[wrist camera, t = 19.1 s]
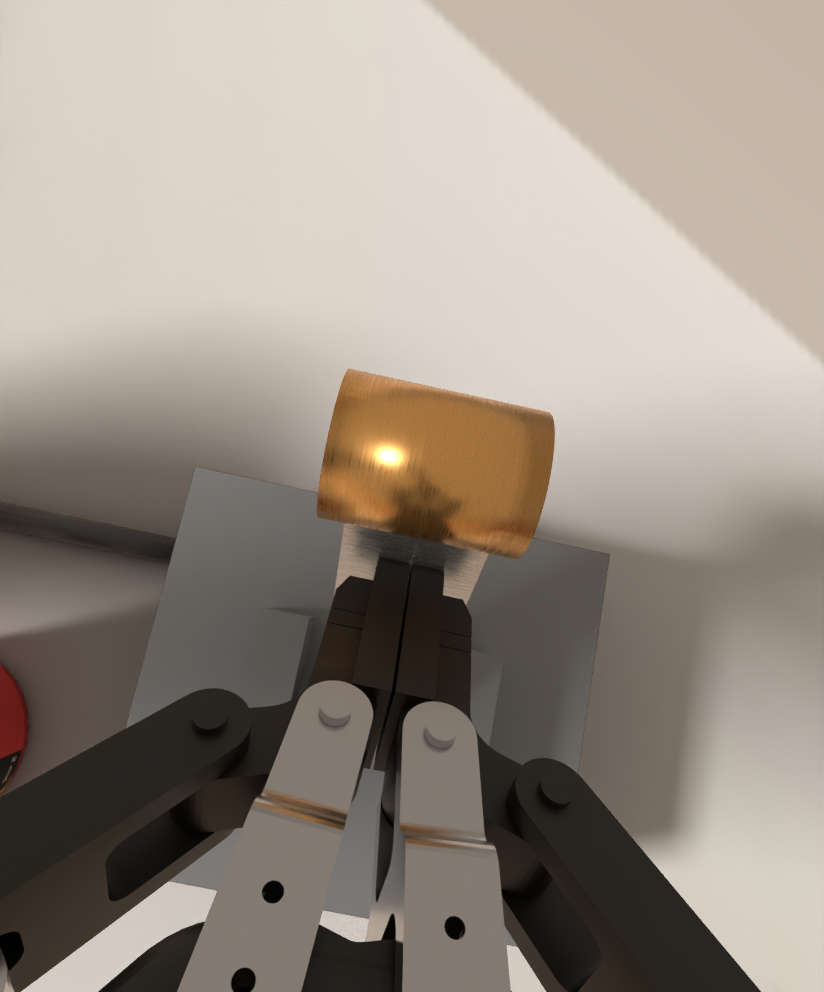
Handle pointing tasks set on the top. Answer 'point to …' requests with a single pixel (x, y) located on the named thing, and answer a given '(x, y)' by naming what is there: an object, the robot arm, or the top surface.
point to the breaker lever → (432, 478)
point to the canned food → (11, 727)
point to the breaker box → (302, 620)
